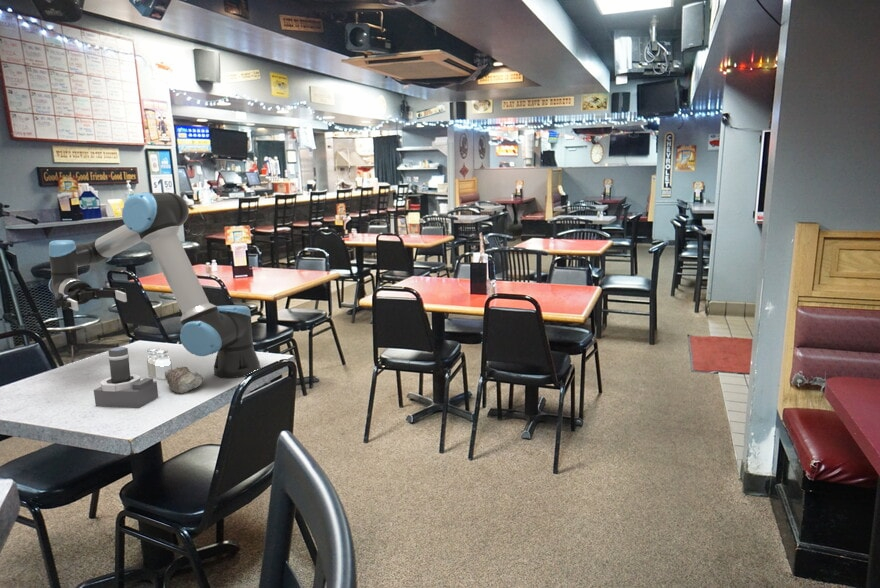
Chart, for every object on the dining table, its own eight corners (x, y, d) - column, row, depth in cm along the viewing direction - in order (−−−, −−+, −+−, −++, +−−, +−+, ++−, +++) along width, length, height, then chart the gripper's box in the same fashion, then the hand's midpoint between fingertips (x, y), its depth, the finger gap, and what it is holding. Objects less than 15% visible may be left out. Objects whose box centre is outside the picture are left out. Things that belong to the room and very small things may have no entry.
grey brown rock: (210, 381, 183) (188, 357, 179) (185, 403, 178) (162, 378, 175) (201, 378, 195) (181, 355, 192) (177, 397, 191) (156, 375, 188)
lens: (135, 383, 176) (131, 346, 174) (123, 388, 171) (119, 351, 169) (119, 382, 177) (116, 346, 175) (107, 387, 171) (103, 350, 170)
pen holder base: (159, 396, 178) (156, 375, 177) (138, 408, 169) (135, 386, 167) (117, 394, 180) (115, 373, 179) (94, 406, 171) (91, 384, 169)
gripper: (118, 295, 200) (145, 305, 186) (33, 310, 182) (56, 322, 168) (115, 274, 198) (142, 282, 185) (29, 286, 180) (52, 297, 166)
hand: (101, 301), depth 176 cm, fingers open, 13 cm apart
